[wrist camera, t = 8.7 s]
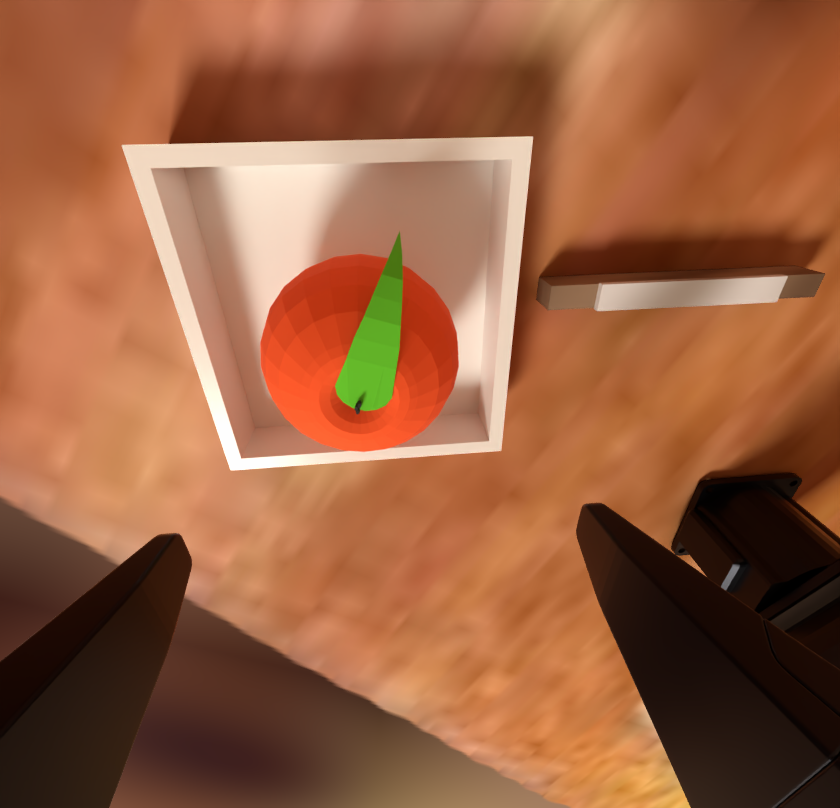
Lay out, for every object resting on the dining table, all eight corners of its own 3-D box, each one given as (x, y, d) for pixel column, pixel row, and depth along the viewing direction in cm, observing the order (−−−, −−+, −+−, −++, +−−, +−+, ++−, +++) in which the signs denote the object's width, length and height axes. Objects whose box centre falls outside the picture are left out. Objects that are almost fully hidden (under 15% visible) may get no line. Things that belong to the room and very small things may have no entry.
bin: (506, 140, 15) (533, 136, 13) (486, 415, 22) (501, 450, 19) (166, 147, 14) (121, 144, 12) (248, 431, 21) (230, 470, 18)
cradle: (951, -91, 13) (1027, -125, 12) (784, 288, 19) (820, 299, 18) (586, -97, 12) (616, -134, 11) (536, 300, 19) (550, 313, 17)
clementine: (300, 182, 15) (247, 199, 9) (476, 240, 16) (535, 288, 10) (272, 374, 19) (221, 478, 13) (418, 406, 20) (435, 513, 14)
